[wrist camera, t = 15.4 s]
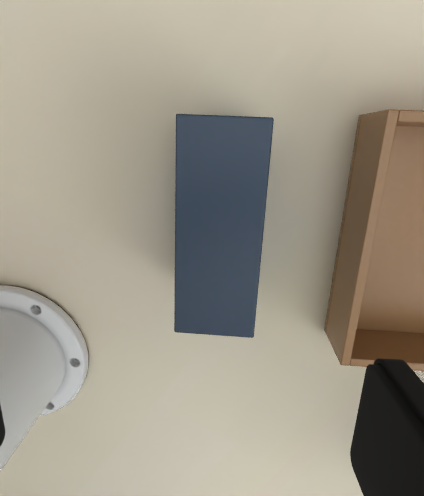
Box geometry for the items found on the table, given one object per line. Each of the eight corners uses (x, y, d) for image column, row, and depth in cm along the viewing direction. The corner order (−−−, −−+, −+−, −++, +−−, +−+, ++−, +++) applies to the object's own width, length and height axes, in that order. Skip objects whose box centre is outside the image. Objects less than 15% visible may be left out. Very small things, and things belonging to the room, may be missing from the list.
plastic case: (189, 284, 27) (174, 332, 20) (193, 121, 23) (175, 113, 16) (248, 288, 26) (253, 338, 20) (262, 124, 23) (274, 117, 16)
